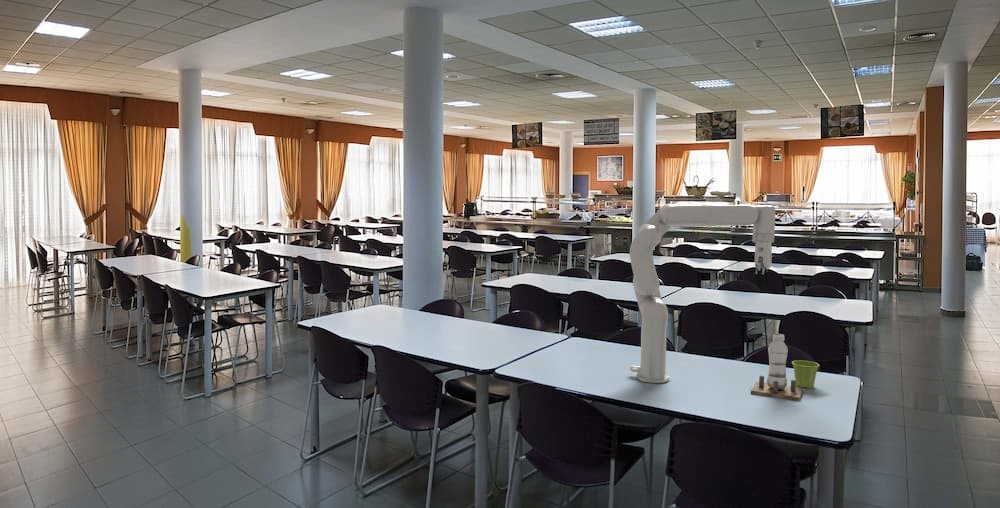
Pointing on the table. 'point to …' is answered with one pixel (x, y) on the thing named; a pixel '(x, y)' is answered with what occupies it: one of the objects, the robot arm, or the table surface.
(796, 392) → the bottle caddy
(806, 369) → the plant pot
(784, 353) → the plastic bottle
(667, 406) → the table surface
